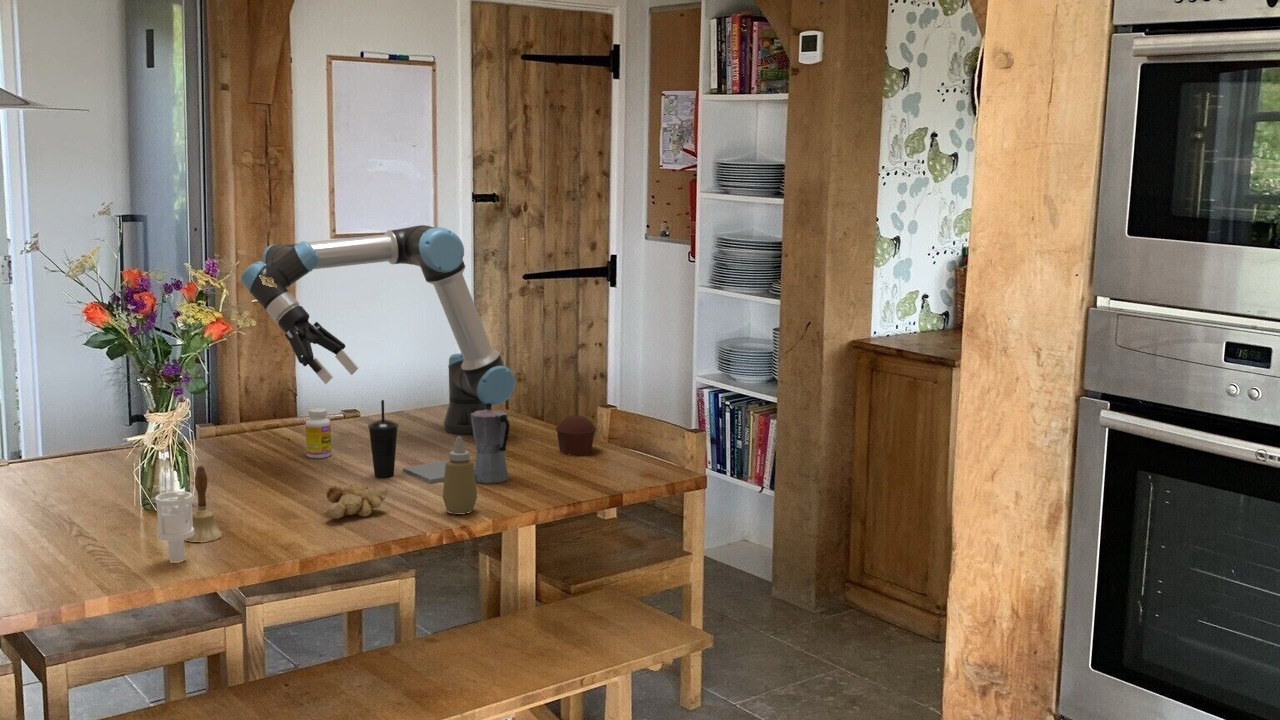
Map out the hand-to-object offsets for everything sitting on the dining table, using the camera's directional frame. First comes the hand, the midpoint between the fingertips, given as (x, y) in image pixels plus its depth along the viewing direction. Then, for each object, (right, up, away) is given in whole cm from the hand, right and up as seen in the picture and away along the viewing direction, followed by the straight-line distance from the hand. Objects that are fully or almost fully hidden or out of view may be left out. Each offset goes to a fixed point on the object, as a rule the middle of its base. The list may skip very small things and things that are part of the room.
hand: (342, 375), depth 320 cm
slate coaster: (+24, -25, +6) cm, 35 cm away
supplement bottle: (-11, -22, +21) cm, 33 cm away
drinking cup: (+10, -26, +2) cm, 28 cm away
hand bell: (-19, -35, -48) cm, 62 cm away
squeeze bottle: (+34, -32, -27) cm, 54 cm away
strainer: (-19, -37, -63) cm, 76 cm away
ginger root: (+9, -32, -28) cm, 44 cm away
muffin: (+58, -22, +30) cm, 69 cm away
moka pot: (+38, -27, 0) cm, 47 cm away
